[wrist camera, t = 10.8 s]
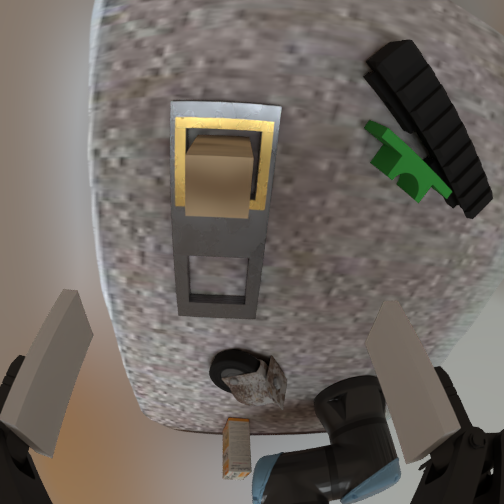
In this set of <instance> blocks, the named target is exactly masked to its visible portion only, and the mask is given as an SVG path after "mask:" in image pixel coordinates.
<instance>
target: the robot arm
mask: <svg viewBox="0 0 504 504" xmlns="http://www.w3.org/2000/svg"><path fill="white" fill-rule="evenodd" d="M92 337H93V332H92V330H91V327H90V325H89V322H88V319H87V316H86V314H85V311H84V308H83V305H82V302H81V299H80V296H79V293H78V291H77V290H67V289H63V291H62V292H61V294H60V296H59V297H58V299H57V301H56V302H55V304H54V306H53V307H52V309H51V311H50V312H49V314H48V316H47V318H46V320H45V321H44V323H43V325H42V327H41V329H40V330H39V332H38V334H37V336H36V338H35V340H34V342H33V343H32V346H31V347H30V349H29V351H28V353H27V355H26V357H25V356H22V355H19V356H18V357H17V358H16V359H15V360H14V361H13V362H12V363H11V365H10V367H9V369H8V371H7V373H6V376H5V377H4V379H3V382H2V383H3V384H1V386H0V504H53V503H52V502H51V500H50V498H49V496H48V494H47V491H46V489H45V487H44V485H43V483H42V481H41V479H40V477H39V474H38V472H37V470H36V467H35V465H34V462H33V460H32V457H31V455H30V454H29V452H28V450H29V447H30V448H32V449H33V450H34V451H35V452H37V453H39V454H42V455H44V456H47V457H50V458H53V454H54V450H55V446H56V442H57V439H58V435H59V432H60V428H61V425H62V421H63V418H64V415H65V412H66V409H67V405H68V403H69V400H70V397H71V394H72V391H73V388H74V385H75V382H76V379H77V376H78V374H79V371H80V368H81V365H82V363H83V360H84V358H85V355H86V352H87V350H88V347H89V345H90V342H91V340H92ZM365 345H366V348H367V350H368V353H369V356H370V358H371V361H372V364H373V366H374V369H375V372H376V374H377V377H378V378H377V377H372V376H362V377H355V378H351V379H347V380H344V381H341V382H339V383H336V384H334V385H332V386H330V387H328V388H327V389H325V390H324V391H322V392H321V393H320V394H319V395H318V396H317V397H316V399H315V401H314V408H315V413H316V415H317V417H318V419H319V420H320V422H321V423H322V425H323V427H324V428H325V430H326V431H327V433H328V435H329V438H330V443H331V445H327V446H322V447H317V448H311V449H306V450H300V451H293V452H286V453H284V452H281V453H279V454H274V455H267V456H264V457H262V458H260V459H259V460H258V462H257V464H256V466H255V469H254V473H253V480H252V495H253V500H252V501H253V504H329V501H332V500H337V499H340V502H341V503H342V504H351V503H354V502H357V501H360V500H363V499H366V498H368V497H371V496H373V495H375V494H377V493H380V492H382V491H384V490H386V489H388V488H389V487H391V486H393V485H394V484H396V483H397V482H398V481H399V479H400V477H401V471H400V466H399V458H398V457H397V454H396V450H395V447H394V444H393V440H392V437H391V434H390V431H389V428H388V424H387V421H386V418H385V406H386V402H387V405H388V408H389V411H390V414H391V417H392V420H393V423H394V426H395V429H396V433H397V435H398V439H399V442H400V445H401V449H402V452H403V455H404V459H405V462H406V464H409V463H412V462H415V461H418V460H421V459H423V458H424V457H426V456H427V455H428V454H430V456H431V459H430V460H428V461H427V462H425V463H424V464H422V465H421V466H420V468H419V469H418V470H421V469H423V468H425V467H426V468H425V470H424V471H423V472H424V474H423V476H422V478H421V481H420V483H419V485H418V488H417V490H416V492H415V494H414V496H413V499H412V501H411V503H410V504H504V429H503V430H502V431H501V432H499V433H485V432H484V431H483V430H482V429H480V428H479V427H473V426H472V424H471V422H470V420H469V418H468V416H467V413H466V411H465V409H464V407H463V404H462V402H461V400H460V398H459V396H458V395H457V392H456V389H455V388H454V387H453V383H452V381H451V379H450V377H449V375H448V374H447V373H446V372H445V371H444V370H443V369H442V368H441V367H440V366H438V367H433V365H432V363H431V361H430V359H429V357H428V355H427V353H426V351H425V349H424V347H423V346H422V344H421V342H420V340H419V338H418V336H417V334H416V332H415V330H414V329H413V327H412V325H411V323H410V321H409V320H408V318H407V316H406V314H405V312H404V311H403V309H402V307H401V305H400V304H399V302H398V301H384V302H383V304H382V306H381V309H380V311H379V313H378V316H377V318H376V320H375V322H374V325H373V327H372V329H371V331H370V333H369V335H368V338H367V340H366V342H365ZM492 468H493V474H492V475H491V472H490V470H491V469H492Z"/></svg>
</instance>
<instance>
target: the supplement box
mask: <svg viewBox="0 0 504 504" xmlns="http://www.w3.org/2000/svg"><path fill="white" fill-rule="evenodd" d="M251 471H252V470H251V452H250V431H249V419H243V418H228V420H227V423H226V426H225V428H224V430H223V479H228V480H243V479H244V478H245V477H246V476H247V475H249V474H250V473H251Z"/></svg>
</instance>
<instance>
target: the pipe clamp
mask: <svg viewBox="0 0 504 504" xmlns="http://www.w3.org/2000/svg"><path fill="white" fill-rule="evenodd" d="M364 129H366V130H367V131H368V132H369V133H371V134H372V135H373V136H374V137H376V138H377V139H378V140H379V141H380V142H382V143H383V146H382V147H381V148H380V150H379V151H378V153H377V154H376V155H375V157H374V158H373V159H372V161H371V162H370V163H371V164H373V165H374V166H375V167H376V168H378V169H379V170H380V171H381V172H383V173H384V174H385V175H386V176H388V177H389V178H390V179H391V180H393V179H394V178H395V177H396V176H397V175H399V174H400V178H399V181H398V183H397V185H398V186H399V187H400V188H402V189H403V190H404V191H405V192H406V193H407V194H409V195H410V196H411V197H412V198H413V199H414V200H415V201H417V202H418V203H419V202H420V201H421V199H422V198H423V197H424V195H425V194H426V193H427V191H428V190H429V189H430V187H432V188H433V189H434V190H436V191H437V192H438V193H439V194H441V195H442V196H443V197H445V198H446V199H447V198H448V197H449V195H450V194H451V193H452V191H451V190H450V188H449V187H448V186H447V185H446V184H445V183H444V182H443V181H442V180H441V179H440V178H439V176H438V175H437V174H436V173H435V172H434V171H433V170H432V169H431V168H430V167H429V166H428V165H427V164H426V163H425V162H424V161H423V160H422V159H421V158H420V157H419V156H418V155H417V154H416V153H415V152H414V151H413V150H412V149H411V148H410V147H409V146H408V145H406V144H405V143H404V142H403V141H402V140H401V139H400V138H399V137H398V136H397V135H396V134H394V133H393V132H392V131H391V130H390V129H389V128H387V127H385V126H383V125H380V124H378V123H376V122H373V121H371V120H369V122H368V123H367V124H366V126H365V127H364Z"/></svg>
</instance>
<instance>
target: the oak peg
mask: <svg viewBox="0 0 504 504" xmlns="http://www.w3.org/2000/svg"><path fill="white" fill-rule="evenodd" d="M253 159H254V157H253V153H252V148H251V143H250V138H249V137H243V136H225V135H197V137H196V138H195V140H194V142H193V143H192V145H191V146H190V148H189V150H188V151H187V153H186V155H185V216H202V217H225V218H245V219H248V215H249V204H250V193H251V181H252V170H253Z"/></svg>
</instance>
